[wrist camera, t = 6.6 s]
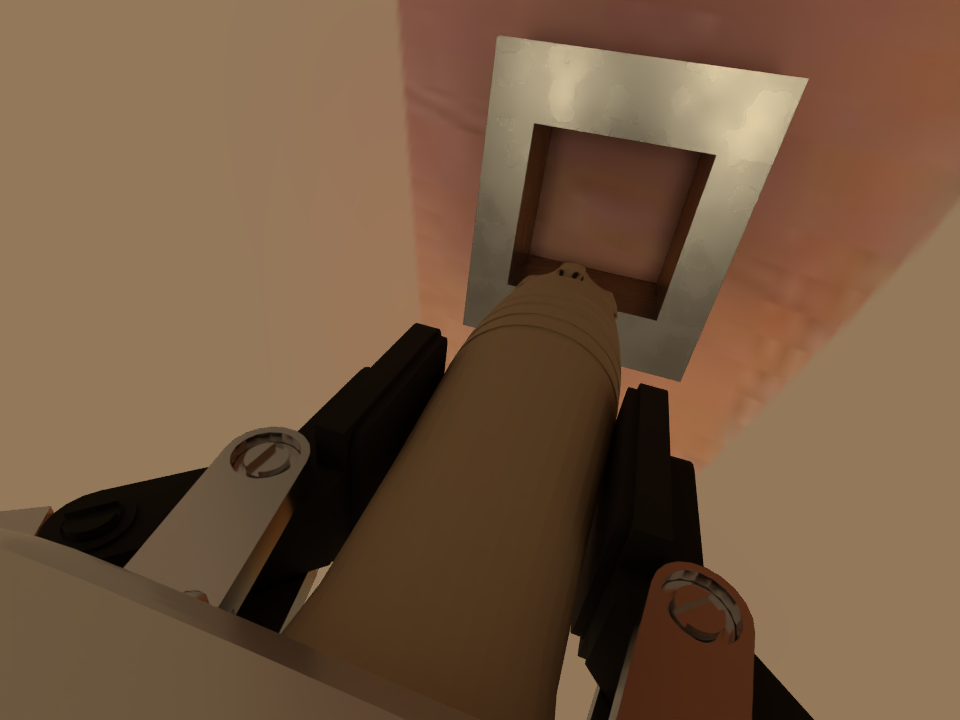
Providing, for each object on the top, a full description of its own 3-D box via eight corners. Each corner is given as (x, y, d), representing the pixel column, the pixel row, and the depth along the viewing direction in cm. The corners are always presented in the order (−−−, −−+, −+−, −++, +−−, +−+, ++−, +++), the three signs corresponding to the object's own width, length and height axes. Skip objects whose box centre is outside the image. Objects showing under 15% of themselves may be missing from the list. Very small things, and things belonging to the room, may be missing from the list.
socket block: (525, 42, 28) (497, 35, 24) (779, 78, 26) (808, 78, 21) (489, 291, 37) (462, 324, 32) (677, 337, 34) (680, 381, 29)
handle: (481, 214, 15) (-265, 783, 3) (692, 255, 14) (974, 1599, 2) (466, 346, 18) (35, 950, 5) (644, 391, 17) (612, 1321, 4)
